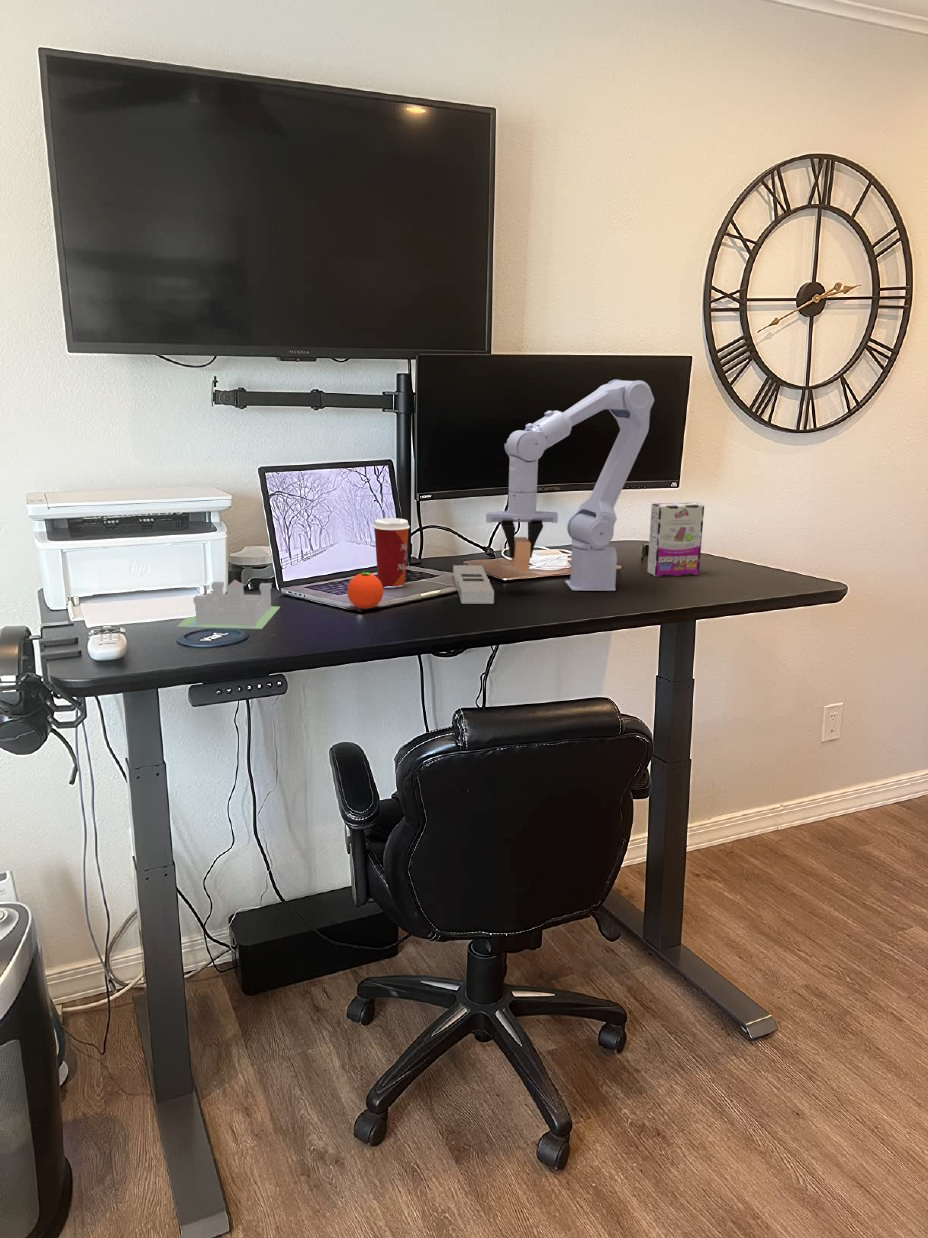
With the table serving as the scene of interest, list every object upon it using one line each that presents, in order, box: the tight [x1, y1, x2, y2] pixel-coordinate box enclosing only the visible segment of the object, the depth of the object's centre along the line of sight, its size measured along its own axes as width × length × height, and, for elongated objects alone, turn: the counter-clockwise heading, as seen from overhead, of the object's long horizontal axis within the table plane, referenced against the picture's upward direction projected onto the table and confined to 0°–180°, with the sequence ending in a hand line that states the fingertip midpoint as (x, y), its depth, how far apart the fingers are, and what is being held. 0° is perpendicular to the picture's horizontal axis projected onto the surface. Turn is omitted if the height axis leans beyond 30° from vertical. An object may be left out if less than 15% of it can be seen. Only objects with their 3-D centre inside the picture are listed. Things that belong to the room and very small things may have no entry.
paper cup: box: [372, 517, 411, 586], centre depth 188 cm, size 8×8×14 cm
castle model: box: [176, 579, 281, 630], centre depth 164 cm, size 15×15×7 cm
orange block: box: [510, 536, 531, 572], centre depth 185 cm, size 3×6×6 cm, turn 4°
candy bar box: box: [647, 502, 705, 578], centre depth 205 cm, size 11×5×16 cm, turn 104°
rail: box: [452, 564, 495, 605], centre depth 189 cm, size 6×24×2 cm, turn 5°
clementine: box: [346, 571, 384, 610], centre depth 172 cm, size 8×7×7 cm
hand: (520, 556), depth 185 cm, fingers closed on orange block, 3 cm apart
